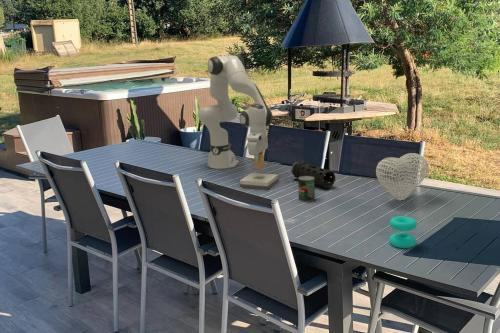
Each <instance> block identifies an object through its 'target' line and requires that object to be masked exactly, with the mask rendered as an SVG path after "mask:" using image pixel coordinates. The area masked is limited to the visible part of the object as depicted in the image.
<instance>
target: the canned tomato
mask: <svg viewBox="0 0 500 333" xmlns="http://www.w3.org/2000/svg"><path fill="white" fill-rule="evenodd" d="M297 179H298V182H297V183H298V201H300V202H306V203H308V202H314V200H315V192H316V190H315V184H314V179H315V178H314V177H312V176H301V177H299V178H297Z"/></svg>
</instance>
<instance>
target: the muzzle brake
mask: <svg viewBox="0 0 500 333" xmlns="http://www.w3.org/2000/svg"><path fill="white" fill-rule="evenodd" d="M290 172H291V174H292V175H293V177H294V178H295V179H298V178H299V177H301V176H312V177H314V178H315V179H314V185H315V186H317V187H320V188H324V189H326V190H329V189H330V188H332V186H334V184H335V182H336V174H335V172H333V170H330V169H325V168H322V167H320V166H315V165H312V164H309V163H306V162H304V161H295V162H294V163H293V164H292V165H291V168H290Z"/></svg>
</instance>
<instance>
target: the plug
mask: <svg viewBox="0 0 500 333" xmlns="http://www.w3.org/2000/svg"><path fill="white" fill-rule="evenodd" d="M253 157H254V156H253ZM258 157H259V161H258V162H256V161H255V157H254V158H253V161H254V169H259V170H260V169H261V170H262V169H264V168H265V152H264V153H261V152H260V153H259V155H258Z"/></svg>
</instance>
